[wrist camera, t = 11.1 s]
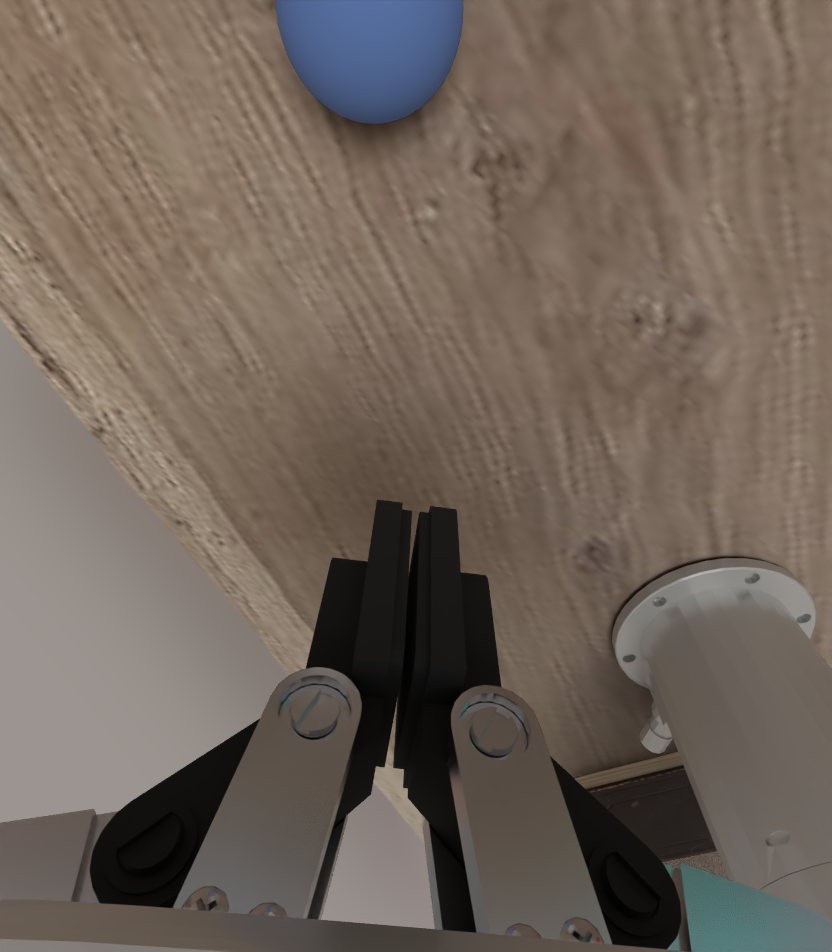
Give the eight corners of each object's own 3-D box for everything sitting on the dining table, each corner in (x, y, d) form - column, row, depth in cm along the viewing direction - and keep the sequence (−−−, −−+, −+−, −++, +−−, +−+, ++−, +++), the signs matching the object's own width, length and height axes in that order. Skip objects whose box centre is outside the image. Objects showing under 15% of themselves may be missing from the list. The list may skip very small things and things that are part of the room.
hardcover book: (562, 770, 48) (567, 797, 46) (844, 697, 42) (864, 725, 40) (619, 846, 56) (626, 872, 54) (867, 793, 49) (885, 821, 47)
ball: (471, -190, 15) (511, 64, 19) (320, -114, 18) (383, 87, 23) (346, -119, 13) (424, 151, 17) (198, -48, 16) (296, 163, 20)
